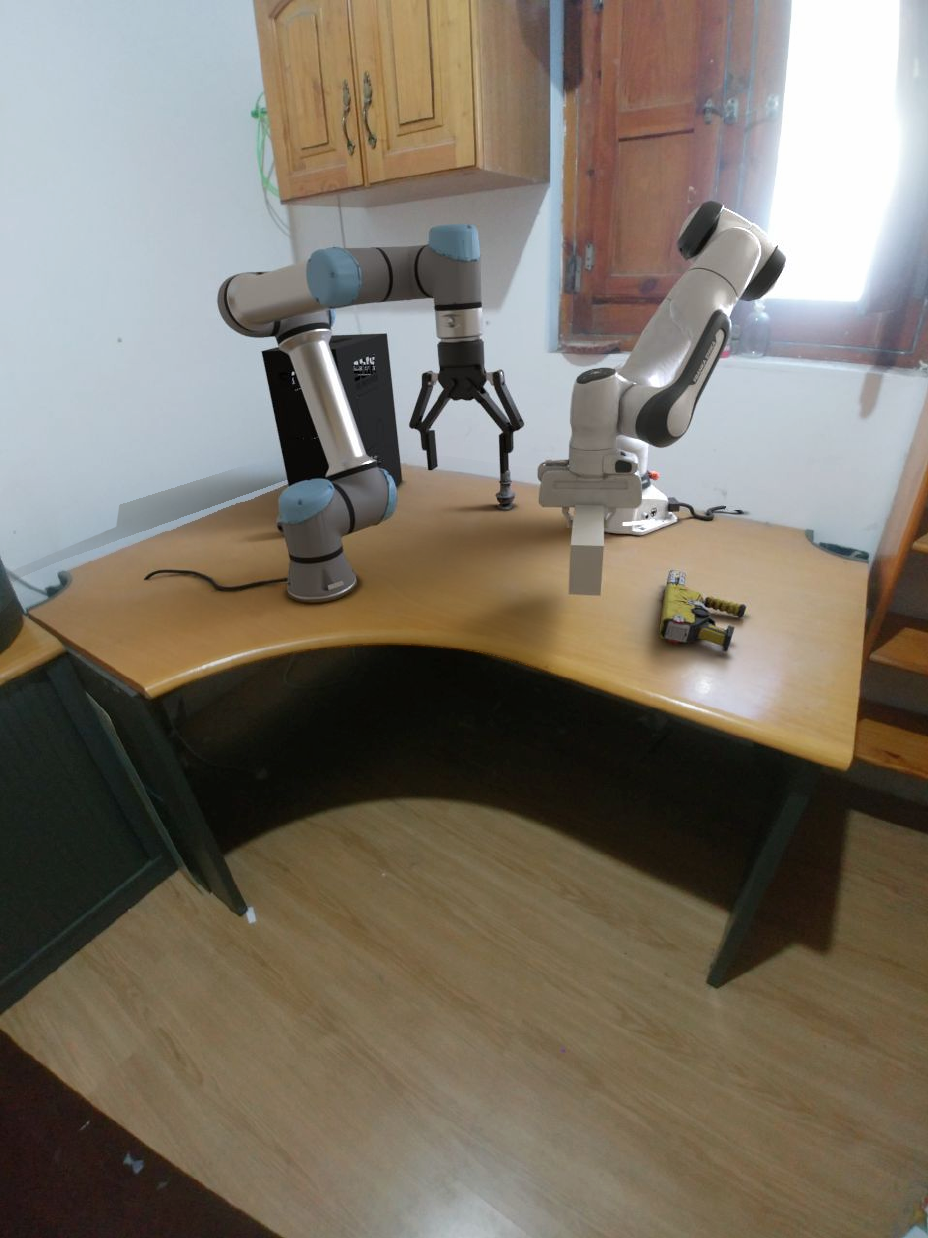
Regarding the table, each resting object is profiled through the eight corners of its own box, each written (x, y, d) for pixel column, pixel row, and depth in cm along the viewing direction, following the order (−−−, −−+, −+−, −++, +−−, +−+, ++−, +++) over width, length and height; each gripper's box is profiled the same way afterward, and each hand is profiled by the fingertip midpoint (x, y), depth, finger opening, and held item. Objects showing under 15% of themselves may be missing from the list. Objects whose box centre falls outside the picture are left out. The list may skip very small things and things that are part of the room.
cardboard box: (360, 522, 170) (335, 348, 148) (295, 519, 175) (261, 351, 152) (402, 481, 202) (386, 333, 179) (346, 480, 206) (324, 335, 184)
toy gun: (745, 580, 121) (669, 567, 125) (754, 637, 101) (663, 618, 105) (739, 601, 124) (664, 587, 127) (746, 660, 103) (657, 641, 107)
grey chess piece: (514, 510, 172) (514, 468, 166) (494, 509, 173) (493, 468, 167) (517, 503, 177) (516, 462, 171) (497, 502, 178) (496, 462, 172)
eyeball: (273, 537, 164) (268, 516, 161) (287, 528, 169) (282, 508, 166) (291, 539, 161) (286, 518, 158) (305, 530, 166) (301, 510, 163)
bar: (573, 538, 129) (575, 495, 124) (600, 539, 128) (603, 496, 123) (568, 594, 107) (570, 544, 103) (600, 595, 106) (604, 545, 101)
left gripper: (380, 343, 98) (395, 472, 108) (529, 338, 90) (530, 479, 100) (400, 339, 104) (413, 461, 114) (541, 333, 96) (541, 466, 106)
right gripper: (536, 464, 116) (535, 531, 123) (646, 464, 112) (639, 534, 119) (539, 455, 121) (538, 520, 128) (644, 455, 117) (638, 522, 124)
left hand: (467, 470), depth 107 cm, fingers open, 13 cm apart
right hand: (588, 527), depth 123 cm, fingers closed on bar, 5 cm apart
